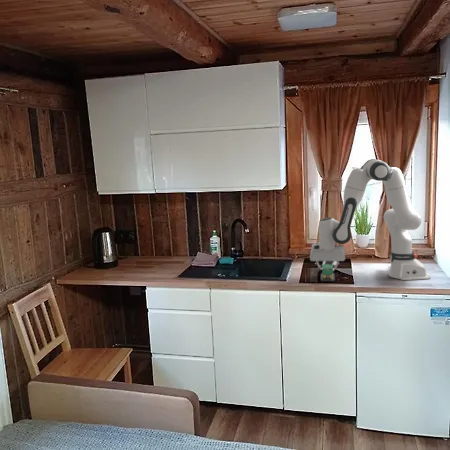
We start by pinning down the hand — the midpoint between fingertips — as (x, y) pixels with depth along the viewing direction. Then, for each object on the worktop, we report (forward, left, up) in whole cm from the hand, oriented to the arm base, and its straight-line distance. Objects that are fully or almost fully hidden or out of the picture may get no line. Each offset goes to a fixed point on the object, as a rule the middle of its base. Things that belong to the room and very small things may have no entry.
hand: (327, 268), depth 272 cm
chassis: (0, 0, -6) cm, 6 cm away
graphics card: (0, -24, -7) cm, 25 cm away
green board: (0, 0, -2) cm, 2 cm away
